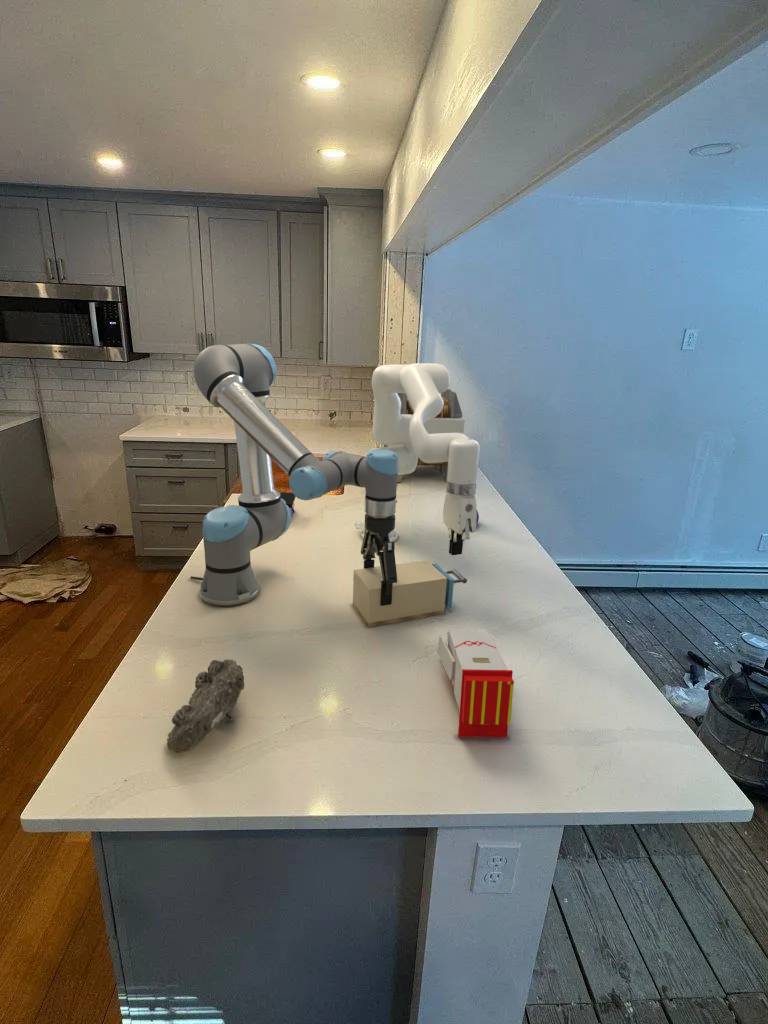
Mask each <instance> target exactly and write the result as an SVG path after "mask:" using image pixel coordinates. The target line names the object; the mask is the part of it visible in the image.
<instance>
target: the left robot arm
mask: <svg viewBox="0 0 768 1024" xmlns="http://www.w3.org/2000/svg"><path fill="white" fill-rule="evenodd" d="M195 358H196V359H195V361H194V364H193V378H194V382H195V384H196V386H197V388H198V390H199V392H200V393H201V395H202V396H203V397H204V398H205V399H206V400H207V401H208V402H209V404H211V405H212V406H213V407H214V408H221V410H222V411H224V412H225V413H226V414H227V415H228V416H229V418H230V419H232V420H233V423H234V432H235V439H236V448H237V456H238V464H239V472H240V479H241V480H240V481H241V488H242V492H241V493H240V495H238V497H237V502H238V505H236V504H235V505H233V504H231V505H226V506H219V507H216V508H214V509H212V510H210V511H209V512H207V513H206V515H204V518H203V519H202V530H201V532H202V538H203V539H202V540H203V549H204V563H205V565H204V566H205V570H204V573H203V577H199V576H190V579H191V580H196V581H201V583H200V589H199V593H200V595H199V596H200V599H201V600H202V601H203V602H204V603H206V604H208V605H211V606H215V607H234V606H239V605H243V604H246V603H248V602H251V601H252V600H254V599H255V598H256V597H257V596H258V594H259V582H258V580H257V577H256V575H255V572H254V570H253V568H252V563H251V551H253V550H255V549H257V548H259V547H261V546H263V545H266V544H268V543H270V542H273V541H275V540H277V539H279V538H280V537H282V536H283V535H285V534H286V533H287V531H288V530H289V528H290V527H291V526H290V525H291V523H292V517H291V512H290V509H289V507H288V506H287V505H286V502H285V501H284V500H283V499H281V496H280V493H281V492H279V491H277V490H276V488H275V482H274V473H273V464H272V461H273V462H274V463H275V464H276V465H277V466H278V467H279V468H280V469H282V470H283V472H284V473H285V474H286V475H287V476H288V477H289V478H288V485H289V488H290V490H291V493H293V494H294V495H295V496H296V497H295V498H297V499H299V500H302V501H310V500H311V501H312V500H313V499H314V500H315V499H318V498H321V497H323V496H325V495H326V494H329V493H330V492H333V491H336V490H339V489H341V488H344V487H345V486H352V487H359V488H364V490H365V496H364V512H365V513H364V522H365V525H364V526H365V534H364V538H362V543H361V546H360V547H361V548H360V554H361V555H362V558H363V569H364V568H372V567H375V559H376V556H377V557H378V560H379V566H381V571H382V577H383V581H380V582H381V600H380V605H381V606H384V605H390V604H392V586H393V583H397V572H396V564H397V563H396V554H395V553H396V552H395V549H396V548H395V547H396V544H395V541H393V542H390V540H389V535H388V534H389V533H390V532H391V531H393V530H394V531H395V529H396V515H395V514H396V508H397V504H398V499H397V488H398V482H397V476H398V456H397V454H396V453H395V452H393V451H390V450H381V449H376V450H371V449H370V450H371V451H370V450H369V451H368V452H367V453H366V454H367V457H366V455H365V456H364V455H360V454H354V453H349V452H346V451H342V450H341V451H337V450H330V451H328V452H326V454H325V455H324V456H323V457H322V459H321V460H320V459H319V458H318V457H317V456H316V455H314V453H312V452H311V450H309V449H308V448H307V447H306V445H304V444H303V442H301V441H300V440H299V439H298V437H296V436H295V435H294V434H293V433H292V432H291V430H289V429H288V428H287V426H286V425H284V424H283V422H281V421H280V420H279V419H278V418H277V417H276V416H275V415H274V414H273V413H272V412H271V411H270V410H269V409H268V408H267V407H266V402H267V400H268V399H269V398H270V397H271V393H270V387H271V386H273V384H274V383H275V380H276V378H277V373H278V372H277V365H276V361H275V359H274V357H273V355H272V354H271V352H270V351H268V350H267V348H265V347H264V346H262V345H260V344H257V343H246V342H244V343H235V344H214V345H210V346H207V347H206V348H204V349H203V350H202V351H200V353H199V354H198V355H197V357H195Z"/></svg>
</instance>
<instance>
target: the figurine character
mask: <svg viewBox="0 0 768 1024" xmlns="http://www.w3.org/2000/svg"><path fill="white" fill-rule="evenodd" d="M279 493H280V496H281V499H283V500H284V501H285V502H286V505H287V506H288V507H289V509H290V512H291V518H292V517H293V515H294V514H295V513H296V510H295V500H296V498H297V497H296V496H295V495H294V494H293V493H292V492H279Z"/></svg>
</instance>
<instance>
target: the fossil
mask: <svg viewBox="0 0 768 1024" xmlns="http://www.w3.org/2000/svg"><path fill="white" fill-rule="evenodd" d="M243 670H244V669H243V667H242V665H240V664H237V662H236V661H235V660H234V659H232V658H231V659H227V658H226V659H224V660H223V661H222V660H217V659H212V660H211V661H210V663H209V665H208V666H207V671H201V672H199V673H198V674H197V675H196V676H195V680H194V684H195V685H194V687H195V689H194V690H193V693H192V694H191V697H190V698H189V700H188V704H184V705H182V706H181V707H180V709H177V710H176V711H175V713H174V715H173V716H172V718H171V723H172V724H173V727H172V730H171V731H170V732H168V734H167V738H166V741H167V742H166V745H167V749H168V750H169V751H173V752H174V753H176V754H178V753H182V752H188V751H189V752H192V751H193V750H195V748H196V747H197V746H199V744H200V743H201V742H203V741H204V740H205V739H206V738H207V737H208V736H209V735H210V734H211V733H212V732H214V730H215V729H217V727H218V726H219V724H220V722H221V721H222V720H223V719H224V718H225V716H226V717H227V719H229V720H233V717H232V715H230V714H229V710H230V709H231V708H234V706H235V704H236V703H237V702H238V699H239V697H240V695H241V693H242V691H243V690H245V689H244V688H245V675H244V671H243Z"/></svg>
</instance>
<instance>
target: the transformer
mask: <svg viewBox="0 0 768 1024" xmlns="http://www.w3.org/2000/svg"><path fill="white" fill-rule="evenodd" d="M397 394H398V396H399V398H400V400H401V411H400V414H410V415H413V414H414V411H413V409H412V406H411V404H410V402H409V400H408V398H407V396H406V394H405V393H397ZM440 396H441V397H442V399H443V402H444V406H443V409H442V411H441V412H440V413H439V414H438V415H437V416H436V417H434V418H433V419H431V420H429V421H427V422H426V423H424V424H423V425H424V427H425V430H426V431H427V433H428V434H436V433H462V434H464V431H465V430H464V429H465V419H464V418H463V411H462V408H461V405H460V402H459V398H458V395H457V392H455V391H453V390H452V389H451V388H448V389H447V390H446V391H445V392H443V393H440ZM395 446H402V444H386V445H384V444H383V447H395ZM416 467H436V468H437V470H438V469H439V473H440V474H441V475H443V478H444V479H445V481H446V482H447V472H448V462H438V463H425V462H423V461H422V460H420V458H419V457H418V461H417V466H416ZM403 475H404V474H402V475H398V476H397V483H402V482H403Z"/></svg>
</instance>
